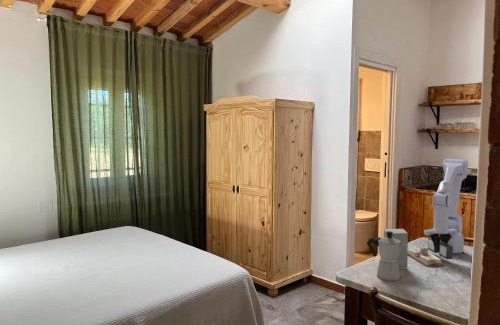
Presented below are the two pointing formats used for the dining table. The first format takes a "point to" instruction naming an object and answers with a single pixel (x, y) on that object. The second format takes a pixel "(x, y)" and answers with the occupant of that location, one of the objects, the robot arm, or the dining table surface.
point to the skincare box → (403, 237)
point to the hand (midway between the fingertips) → (439, 250)
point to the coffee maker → (387, 256)
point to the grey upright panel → (441, 249)
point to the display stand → (424, 257)
